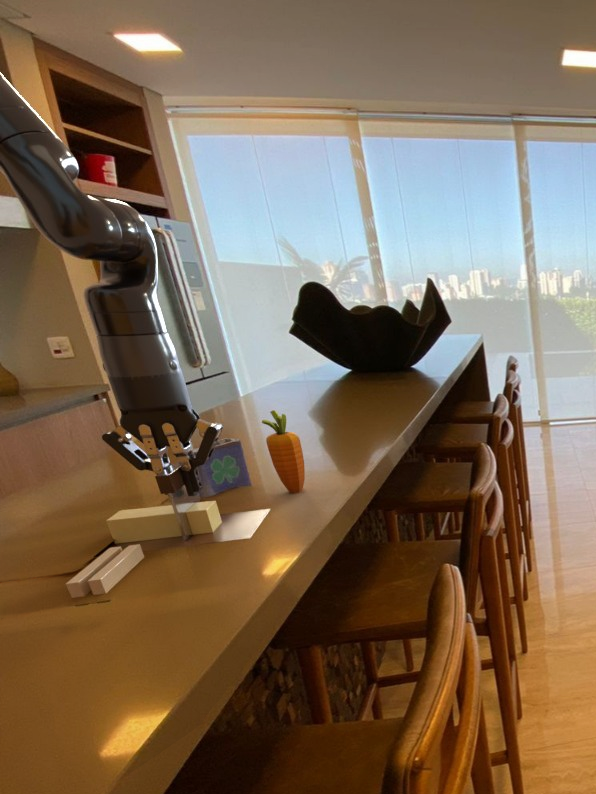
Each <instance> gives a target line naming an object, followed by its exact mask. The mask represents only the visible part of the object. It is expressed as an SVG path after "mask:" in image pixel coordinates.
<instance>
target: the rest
mask: <svg viewBox="0 0 596 794" xmlns="http://www.w3.org/2000/svg"><path fill="white" fill-rule="evenodd" d="M144 558H145V555H144V551H143V552H142V549H141V546H140V544H137V545H129V546H128V547H127V548H125V549H124V550H123V551H122V548H121V547H112V548H109V549H108V550H106V551H105V552H104V553H103V554H102V555H100V556H99V557H96V558H95V559H94V560H92V562H91V563H89V564H88V565H86V566H85V567H84V568H83V569H82V570H81V571H79V572H78V573H77V574H76V575H75V576H73V577H72V578H70V579H69V580H68V581H67V582H65V585H66V586H65V587H66V589H67V590H68V593H69V595H70V598H71V599H74V598H75V599H76V598H82V597H86V596H87V595H88V594H89V593H90V592H91V593H92V595H93V596H96V595H106V594H107V593H108V592H110V591H111V590H112V589H113V588H114V586H116V585H117V584H118V583H119V582H121V580H122V579H124V578H125V576H127V574H128V573H129V572H130V571H132V570H133V569H134V568H135V567H136V566H137V565H138V564H139V563H140V562H141V561H142V560H143V559H144ZM111 601H112V600H111V599H108V600H101V601H96V604H103V603H110V602H111ZM90 604H91V602H86V603H79V604H75V605H74V607H83V606H89V605H90Z"/></svg>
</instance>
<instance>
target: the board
mask: <svg viewBox="0 0 596 794" xmlns="http://www.w3.org/2000/svg"><path fill="white" fill-rule="evenodd" d="M270 511H271V508H266V509H257V510H248V511H238V512H227V513H221V514H220V513H219V514H220V517H221V520H222V523H221V524H220V525H219V526H218V528H217V529H216V530H215V531H214V532H213V533H204V534H196V535H193V534H192V535H191V536H190V537H189V538H188V539H187V540H183V537H182V536H179V537H170V538H162V539H153V540H144V541H136V542H127V543H119V544H115V543H114V540H113V541H111V542H110V543H109V544H108V545H106V546H105V547H104V548H102V549H101V550H100V551H99V552H98V553H96V554H95V555H94V556H93V557H92V558H93V559H94V558H98V557H99V556H100V555H102V554H103V553H104V552H105V551H106V550H108V549H109V548H112V547H121V548H122V551H123V550H124V549H125V548H127V547H128V546H129V545H137V544H140V546H141V549H142V552H143V553H144V552H150V551H158V550H159V551H160V550H167V549H175V548H176V549H177V548H185V547H192V546H199V545H201V546H202V545H208V544H209V545H210V544H216V543H225V542H233V541H241V540H249V539H251V538H252V536H253V535H254V534H255V532H256V530H257V529H258V528H259V526H260V525H261V524H262V522H263V521H264V519H265V518H266V516H267V515H268V514H269V512H270Z"/></svg>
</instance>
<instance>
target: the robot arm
mask: <svg viewBox="0 0 596 794" xmlns="http://www.w3.org/2000/svg"><path fill="white" fill-rule="evenodd" d="M0 172H1V173H2V174H3V175H4V177H5V179H6V180H7V183H8V184H9V186H10V187H11V190H12V191H13V193H14V195H15V196H16V198H17V199H18V201H19V203H20V204H21V206H22V208H23V209H24V211H25V213H26V214H27V215H28V217H29V219H30V221H31V222H32V224H33V225H34V226H35V228H36V229H37V230H38V231H39V233H41V235H42V236H43V237H44V238H45V239H46V240H48V242H50V243H51V244H52V245H54V247H56V248H58V249H59V250H60V251H62V252H64V253H65V254H67V255H69V256H72V257H74V258H76V259H80V260H85V261H92V262H93V261H95V262H97V261H98V262H99V264H100V267H99V268H100V279H99V281H98V282H96V283H92V284H90V285H88V286H87V287H85V288H84V290H83V299H84V300H83V301H84V303H85V304H84V305H85V307H86V311H87V313H88V316H89V319H90V322H91V325H92V329H93V331H94V334H95V335H96V336H95V337H96V340H97V346H98V350H99V351H98V352H99V355H100V358H101V362H102V368H103V371H104V372H105V373H106V376H107V379H108V383H109V385H110V387H111V390H112V394H113V396H114V400H115V402H116V406H117V407H118V410H119V411H120V419H119V425H118V426H117V427H115V428H114V429H112V430H109V431H107V432H105V433H103V434H102V435H101V439H102V441H103V442H104V443H106V444H107V445H108V446H109V447H110V448H112V449H113V450H114V451H115V452H116V453H118V454H119V455H120V456H121V457H122V458H123V459H125V461H127V463H129V464H131V465H132V467H134V468H135V469H136V470H138V471H141V472H142V471H149V472H153V473H154V474H156V475H158V474H159V473H161V472H162V471H164V470H165V469H166V468H168V467H169V466H171V465H172V464H171V461H170V460H171V459H170V457H169V454H168V453H169V448H170V450H171V452H172V454H173V456H175V458H176V461H178V463H179V465H180V468H181V469H182V470H183V471H182V472H181V474H182V477H183V480H184V483H185V488H186V491H187V494H188V496H189V497H190V496H196V495H197V494H198V493H199V491H200V490H201V489H202V486H203V485H202V482H201V479H200V475H199V472H198V466H201V465H204V464H205V463H206V462H207V461H209V460H210V459H211V456H212V454H213V451H214V449H215V446H216V444H217V441H218V440H220V437H221V434H222V432H223V429H224V427H223V425H222V423H220V422H214V423H213V422H209V421H207V420H204V419H202V418H201V417H200V415H199V413H198V412H197V411H195V409H194V408H193V406H192V400H191V397H190V394H189V390H188V387H187V384H186V380H185V377H184V373H183V370H182V367H181V364H180V360H179V357H178V353H177V350H176V348H175V346H174V343H173V342H172V339H171V337H170V334H169V333H168V328H167V324H166V321H165V319H164V315H163V311H162V308H161V305H160V302H159V298H158V297H159V296H158V293H159V292H158V291H159V272H158V269H159V268H158V266H159V265H158V249H157V244H156V239H155V236H154V234H153V232H152V229H151V228H150V226H149V224H148V223H147V221H146V220H145V218H144V217H143V215H141V213H140V212H139V211H137V209H135V208H134V207H132V206H131V205H130V204H128V203H126V202H123V201H120V200H117V199H112V198H107V197H100V196H95V195H90V194H86V193H85V192H84V191H82V190H81V189H80V188H79V186H77V185H76V183H75V180H76V179H77V177H78V176H79V172H80V167H79V163H78V161H77V159H76V157H75V156H74V154H73V153H72V152H71V151H70V149H69V148H68V147H67V145H65V143H64V142H63V140H61V139H60V137H59V136H58V135H57V134H56V133H55V131H53V129H51V127H50V126H48V124H47V123H46V122H45V121H44V119H42V118H41V116H39V114H38V113H37V112H36V110H34V109H33V107H31V106H30V104H29V103H28V102H27V101H26V100H25V99H24V97H22V95H20V94H19V92H18V91H17V90H16V89H15V88H14V87H13V85H12V84H11V83H10V82H9V81H8V80H7V79H6V77H4V75H3V74H2V73H1V72H0ZM197 429H198V430H199V431H198V434H199V436H200V437H201V438H202V437H203V438H202V440H201V443H200V445H199V446H198V448H199V450H198V452H197V455H196V456H195V455H194V452H193V449H194V445H193V443H192V440H191V438H192V437H193V435H194V433H195V431H196V430H197ZM133 437H134V439H136V440H138V441H139V442H141V443H142V444H143V447H144V450H145V451H144V450H143V449H142V448H140V447H139V446H138V445H137V444H136V443H135V442H134V441H132V438H133ZM164 495H165V496H169V495H168V494H164Z"/></svg>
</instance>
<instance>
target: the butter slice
mask: <svg viewBox="0 0 596 794" xmlns="http://www.w3.org/2000/svg"><path fill="white" fill-rule="evenodd" d="M186 515H187V518H188V521H189V525H190V528H191V531H192V534H193V535H196V534H204V533H213V532H214V531H215V530H216V529H217V528H218V526H219V525H220V524H221V523H222V520H221V517H220V510H219V507H218V503H217V501H216V500H209V501H208V500H207V501H201V502H197V503H195V504H194V505H193V506H192V507H191V508H189V509H188V510H187V511H186Z"/></svg>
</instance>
